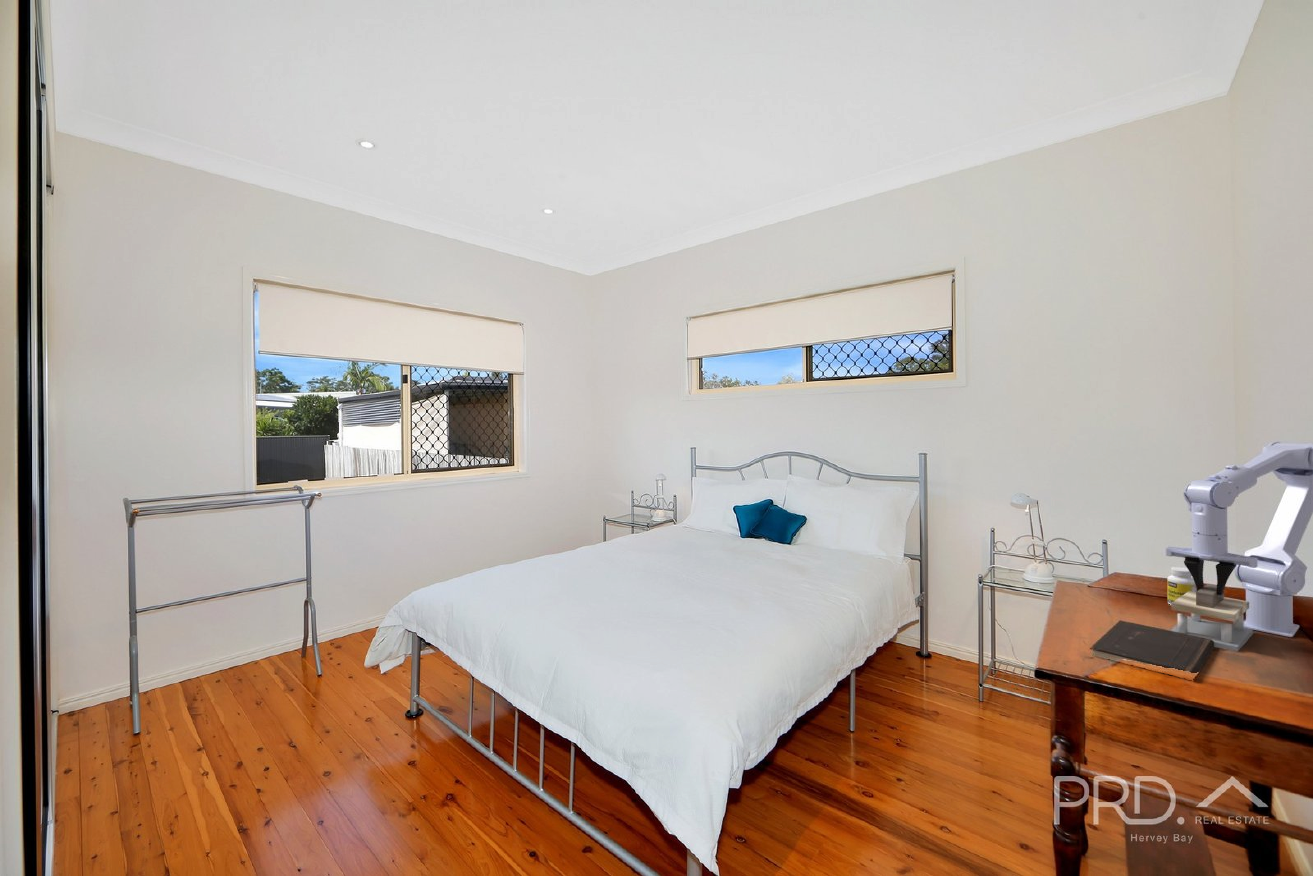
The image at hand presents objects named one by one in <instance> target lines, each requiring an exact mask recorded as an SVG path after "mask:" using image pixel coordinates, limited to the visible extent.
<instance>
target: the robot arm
mask: <svg viewBox="0 0 1313 876" xmlns="http://www.w3.org/2000/svg"><path fill="white" fill-rule="evenodd" d="M1269 473H1273V474H1274V475H1275V477H1276V478H1277V479H1278V480H1281V481H1282V482H1284V483H1285V485H1286V488H1285V491H1284V492H1283V495H1282V498H1281V499H1280V501H1279V503H1278V506H1277V509H1276V512H1275V513H1274V515H1273V518H1272V521H1271V523H1270V525H1269V527H1268V530H1267V532H1266V534H1265V536H1264V538H1263V541H1262V543H1261V545H1260V546H1257V547H1253V548H1250V549H1247V550H1245V551H1244V554H1243V555H1241V554H1238V553H1237V554H1236V553H1231V552H1230V553H1229V552H1228V551H1229V550H1228V548H1229V547H1228V544H1229V542H1228V539H1229V538H1228V508H1229V507H1231V506H1232V505H1233V504H1234V502H1235V501H1236V499H1237V498H1238V497H1239V495H1240V494H1242V493H1244V492H1245V491H1247V490H1250V489H1251V488H1253V487H1255V486H1256V484H1257V482H1258V478H1260V477H1263V476H1265V475H1267V474H1269ZM1183 497H1184V500H1185V501H1186V502H1187V509H1188V510H1189V512H1191V514H1190V515H1191V548H1188V547H1178V546H1177V547H1176V546H1174V547H1173V546H1167V547H1166V548H1165V556H1166V557H1177V558H1183V559H1184V561H1183V564H1184V566H1185V568H1187V569H1188V570H1189V572H1190V573H1191V575H1192V576H1191V578H1193V579H1194V582H1195V585H1196V592H1197V591H1198V590H1200V589H1201V588H1203V587H1204V586H1205V585H1204V584H1205V583H1204V582H1205V581H1204V566H1205V561H1207V562H1214V563H1217V564H1216V565H1215V571H1216V580H1217V581H1216V585H1217V595H1223V593H1224V594H1225V587H1226V585H1227V582H1228V581H1229V580H1228V579H1229V578H1230V576H1231V574H1232V573H1233V572H1234V575H1235V577H1236V579H1237V581H1238V582H1240V583H1241V587H1243V588H1245V601H1249V609H1248V610H1247V611H1246V612H1245V619H1244V628H1248V629H1253V631H1258V632H1263V633H1268V634H1273V635H1279V636H1284V637H1288V638H1292V637H1294V636H1295V634H1296V633H1297V632H1298V630H1299V628H1300V625H1299V624H1295V623H1294V622H1293V621H1294V619H1293V618H1294V615H1293V614H1294V613H1293V612H1294V609H1293V608H1294V607H1293V605H1294V604H1293V601H1294V600H1293V599H1294V597H1293V595H1297V594H1298V593H1300V592H1301V591H1302V590H1303V588H1304V587H1305V585H1306V572H1307V569H1308V566H1307V565H1306V564H1305V563H1304V562H1303V561H1302V560H1301V559H1300V558H1299V557H1298V556H1297V555H1296V553H1297V551H1298V548H1299V545H1300V543H1301V541H1302V539H1303V537H1304V534H1305V532H1306V529H1307V528H1308V525H1309V522H1310V521H1311V518H1312V516H1313V443H1307V442H1304V443H1303V442H1280V441H1273V442H1270V443H1269V444H1267V445H1264V446H1263V447H1262V449H1261V453H1260V454H1258V455H1256V456H1255V457H1253V458H1252V459H1250V460H1249V461H1248V462H1245V464H1243V465H1240V464H1227V465H1226V466H1224V469H1221V471H1218V472H1217V473H1214V474H1211V475H1209V476H1208V477H1207V478H1205V479H1204V480H1202V479H1195V480H1193V481H1191V482H1189V483H1188V484H1187V485H1186V487H1185V490H1184V492H1183Z"/></svg>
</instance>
